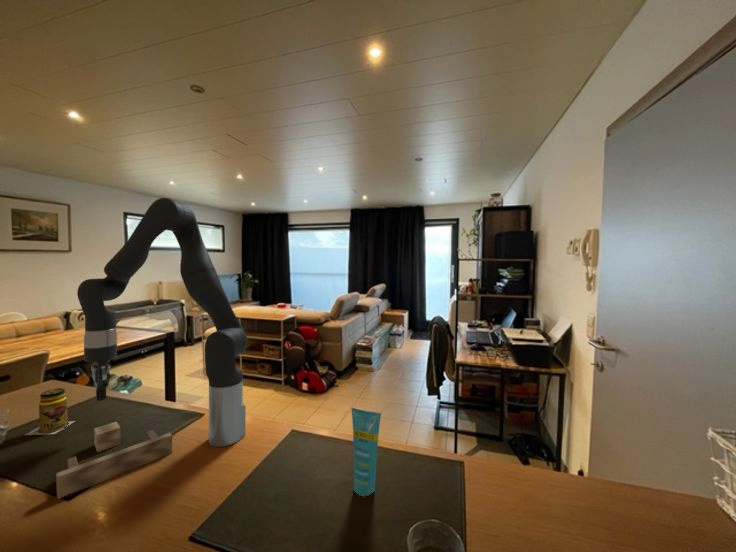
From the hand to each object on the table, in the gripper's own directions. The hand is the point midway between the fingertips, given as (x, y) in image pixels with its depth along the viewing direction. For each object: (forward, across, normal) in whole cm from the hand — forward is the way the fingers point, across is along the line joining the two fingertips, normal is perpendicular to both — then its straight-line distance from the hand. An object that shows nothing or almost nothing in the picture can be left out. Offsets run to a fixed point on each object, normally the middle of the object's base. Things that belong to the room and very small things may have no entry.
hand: (101, 399), depth 91 cm
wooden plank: (+10, -22, 0) cm, 24 cm away
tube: (+10, -76, -36) cm, 85 cm away
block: (+10, -9, 0) cm, 14 cm away
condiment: (+11, +15, +10) cm, 21 cm away
